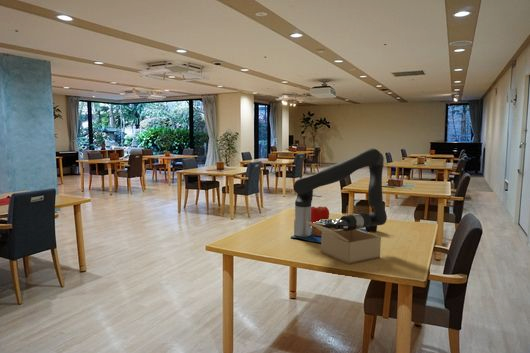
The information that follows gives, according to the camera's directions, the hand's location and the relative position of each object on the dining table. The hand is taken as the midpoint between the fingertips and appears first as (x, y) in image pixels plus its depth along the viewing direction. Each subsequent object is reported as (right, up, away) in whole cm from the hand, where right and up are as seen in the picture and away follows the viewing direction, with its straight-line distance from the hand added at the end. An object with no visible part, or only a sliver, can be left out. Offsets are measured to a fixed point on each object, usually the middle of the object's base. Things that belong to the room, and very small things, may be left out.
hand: (323, 226), depth 181 cm
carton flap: (+6, -5, +5) cm, 9 cm away
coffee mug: (+37, -10, +58) cm, 70 cm away
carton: (+14, -15, +11) cm, 23 cm away
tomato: (+7, -8, +71) cm, 72 cm away
